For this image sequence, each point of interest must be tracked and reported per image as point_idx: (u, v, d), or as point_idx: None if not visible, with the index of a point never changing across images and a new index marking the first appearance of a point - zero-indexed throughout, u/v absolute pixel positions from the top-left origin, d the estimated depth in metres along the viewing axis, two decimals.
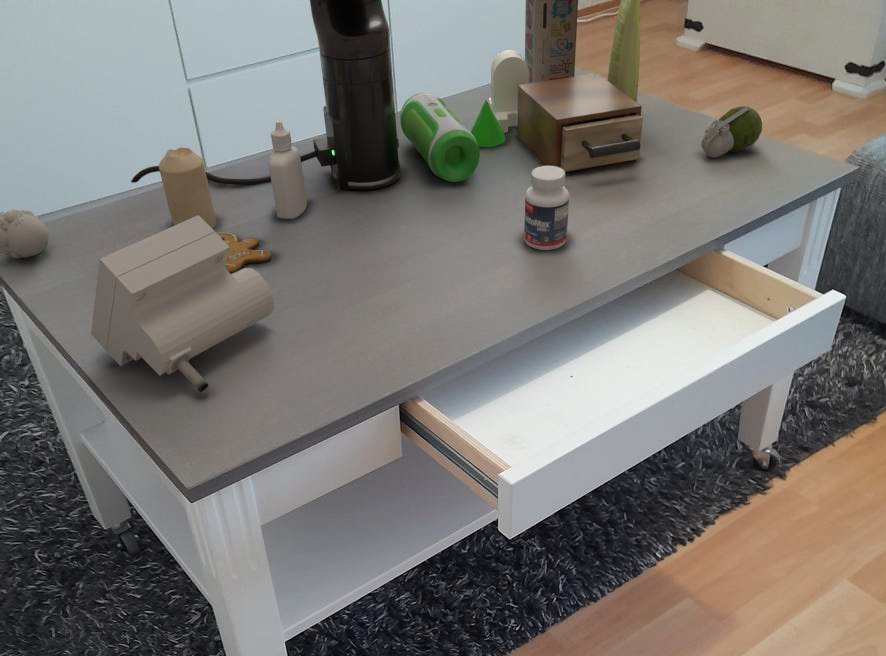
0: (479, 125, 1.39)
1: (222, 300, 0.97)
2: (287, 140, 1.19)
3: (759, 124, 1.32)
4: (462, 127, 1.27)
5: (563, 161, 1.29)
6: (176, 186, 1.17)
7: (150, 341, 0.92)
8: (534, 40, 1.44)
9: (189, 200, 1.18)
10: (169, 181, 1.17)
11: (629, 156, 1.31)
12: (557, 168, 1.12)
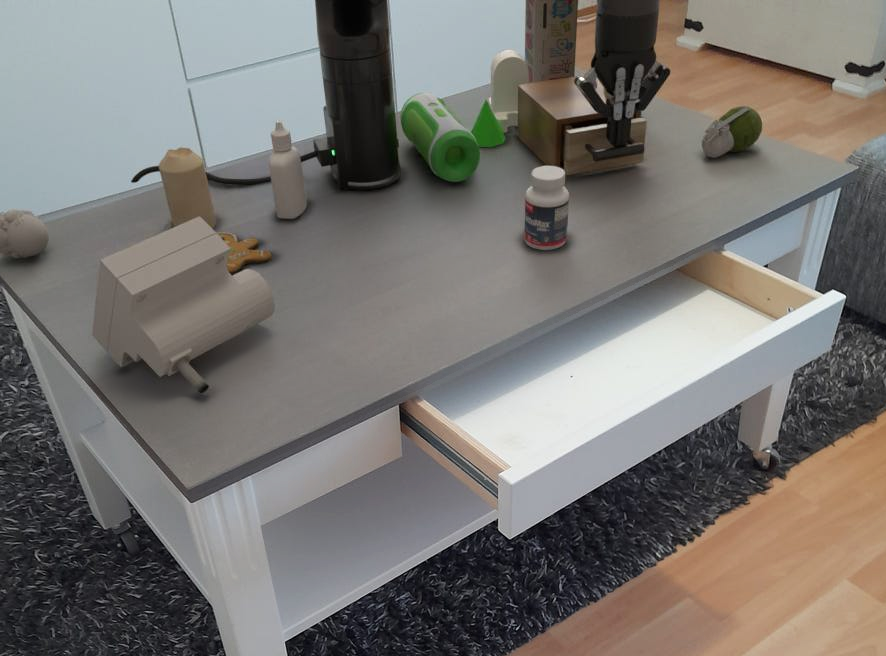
0: (479, 125, 1.39)
1: (223, 301, 0.97)
2: (287, 140, 1.19)
3: (759, 124, 1.32)
4: (462, 127, 1.27)
5: (566, 164, 1.28)
6: (176, 186, 1.17)
7: (150, 342, 0.92)
8: (534, 40, 1.44)
9: (189, 200, 1.18)
10: (169, 181, 1.17)
11: (633, 159, 1.31)
12: (557, 168, 1.12)
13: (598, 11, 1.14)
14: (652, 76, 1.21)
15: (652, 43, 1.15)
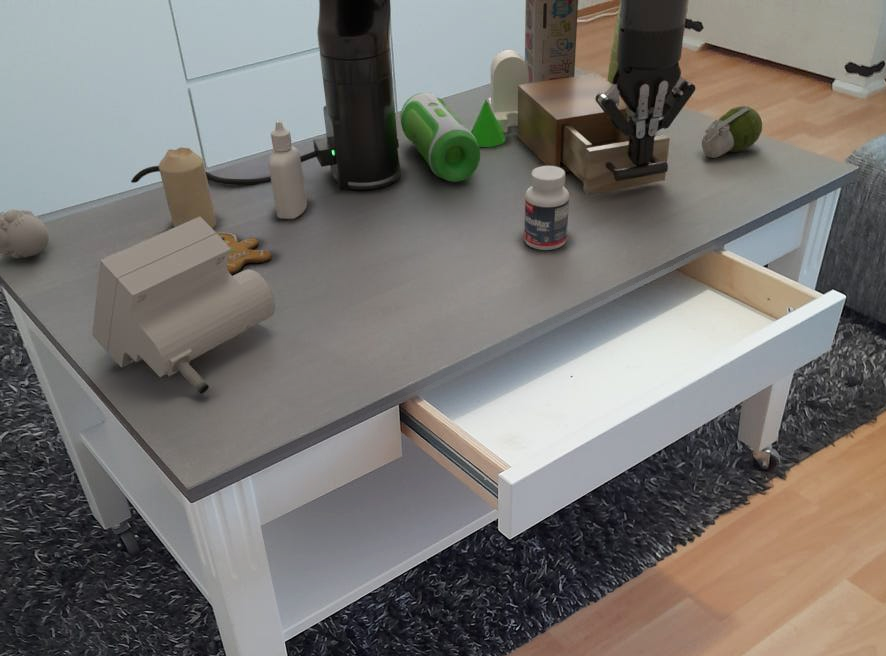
0: (479, 125, 1.39)
1: (223, 302, 0.97)
2: (287, 140, 1.19)
3: (759, 124, 1.32)
4: (462, 127, 1.27)
5: (586, 183, 1.24)
6: (176, 186, 1.17)
7: (150, 343, 0.92)
8: (534, 40, 1.44)
9: (189, 200, 1.18)
10: (169, 181, 1.17)
11: (655, 178, 1.26)
12: (557, 168, 1.12)
13: (621, 26, 1.09)
14: (676, 92, 1.16)
15: (677, 59, 1.10)
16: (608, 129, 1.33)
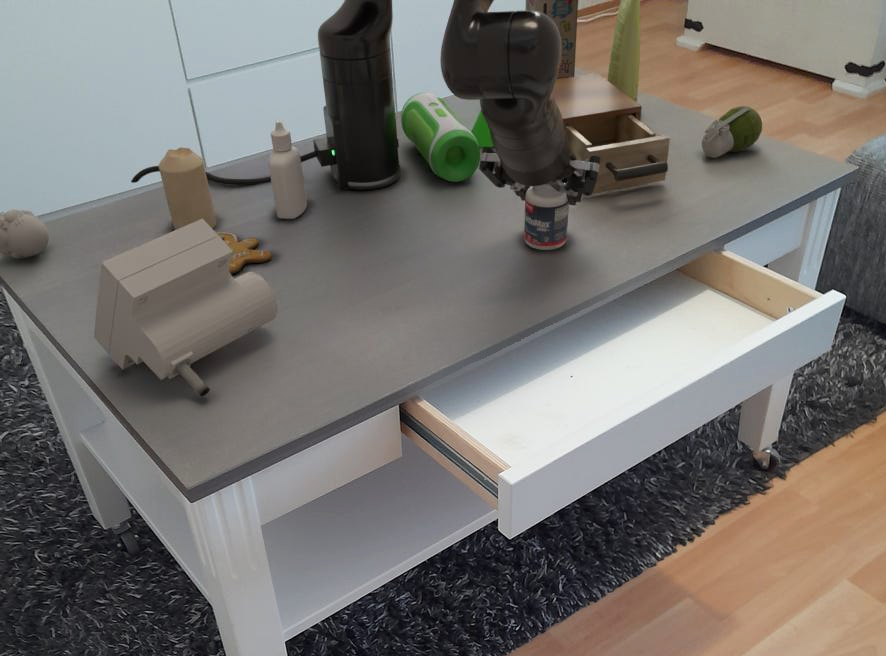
0: (479, 125, 1.39)
1: (225, 304, 0.96)
2: (287, 140, 1.19)
3: (759, 124, 1.32)
4: (463, 127, 1.27)
5: None
6: (176, 186, 1.17)
7: (151, 345, 0.92)
8: None
9: (189, 200, 1.18)
10: (169, 181, 1.17)
11: (655, 178, 1.26)
12: None
13: None
14: None
15: (548, 181, 1.02)
16: (608, 129, 1.33)
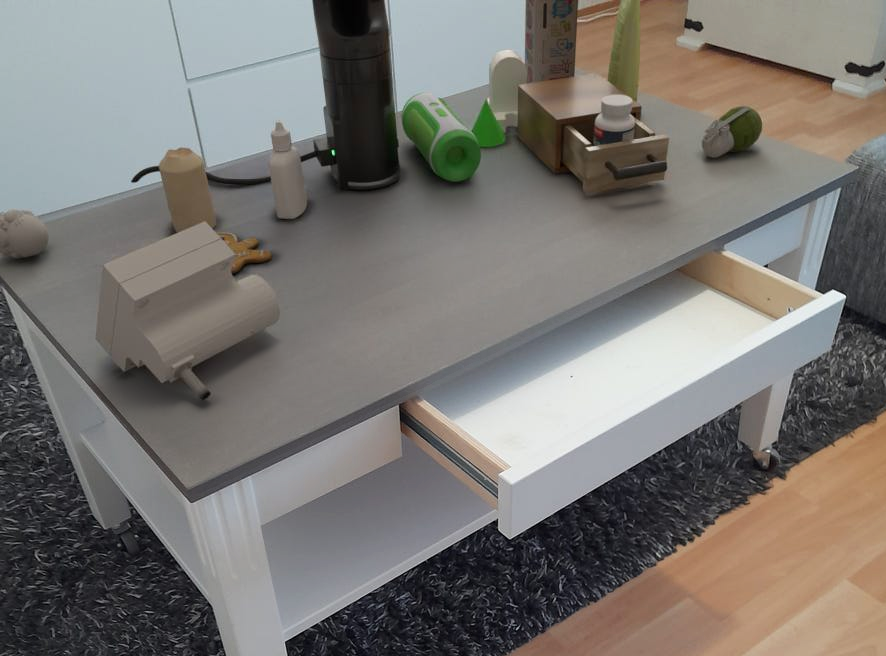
0: (479, 125, 1.39)
1: (227, 307, 0.96)
2: (287, 140, 1.19)
3: (759, 124, 1.32)
4: (463, 127, 1.27)
5: (586, 183, 1.24)
6: (176, 186, 1.17)
7: (152, 348, 0.91)
8: (534, 40, 1.44)
9: (189, 200, 1.18)
10: (169, 181, 1.17)
11: (654, 177, 1.26)
12: (625, 96, 1.23)
13: None
14: None
15: None
16: None
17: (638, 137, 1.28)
